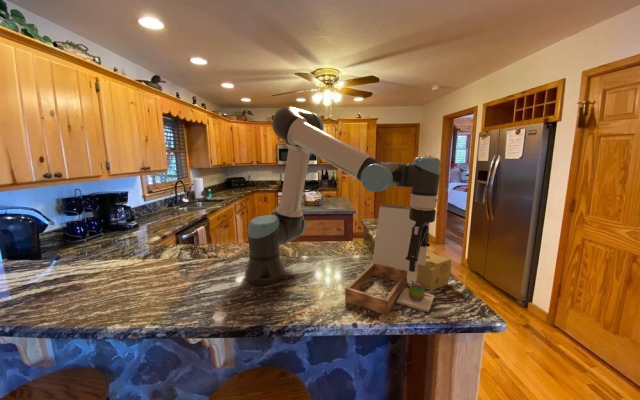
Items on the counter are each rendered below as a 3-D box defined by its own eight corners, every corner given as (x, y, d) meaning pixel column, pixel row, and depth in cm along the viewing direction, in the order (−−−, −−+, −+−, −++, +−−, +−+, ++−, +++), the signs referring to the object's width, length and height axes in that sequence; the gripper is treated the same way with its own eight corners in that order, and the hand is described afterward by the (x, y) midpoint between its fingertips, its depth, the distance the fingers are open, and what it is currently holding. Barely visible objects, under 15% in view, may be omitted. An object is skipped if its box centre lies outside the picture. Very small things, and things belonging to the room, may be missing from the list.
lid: (380, 203, 105) (380, 203, 106) (372, 262, 104) (373, 262, 105) (415, 207, 98) (416, 207, 99) (408, 271, 97) (408, 270, 98)
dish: (397, 302, 84) (397, 300, 84) (404, 290, 92) (405, 287, 92) (428, 312, 79) (429, 309, 79) (434, 298, 87) (434, 295, 87)
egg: (422, 296, 87) (424, 279, 86) (425, 304, 83) (426, 286, 82) (407, 294, 88) (408, 277, 87) (409, 302, 84) (410, 284, 83)
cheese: (430, 291, 91) (432, 264, 90) (407, 278, 101) (408, 254, 99) (449, 285, 96) (452, 259, 94) (426, 273, 105) (427, 249, 104)
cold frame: (345, 301, 85) (346, 260, 83) (376, 268, 109) (377, 236, 107) (387, 315, 78) (389, 271, 75) (410, 277, 102) (412, 243, 99)
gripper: (428, 217, 68) (420, 292, 72) (441, 203, 89) (435, 261, 93) (399, 213, 72) (393, 284, 76) (418, 200, 93) (413, 256, 96)
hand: (416, 272), depth 84 cm, fingers open, 13 cm apart
